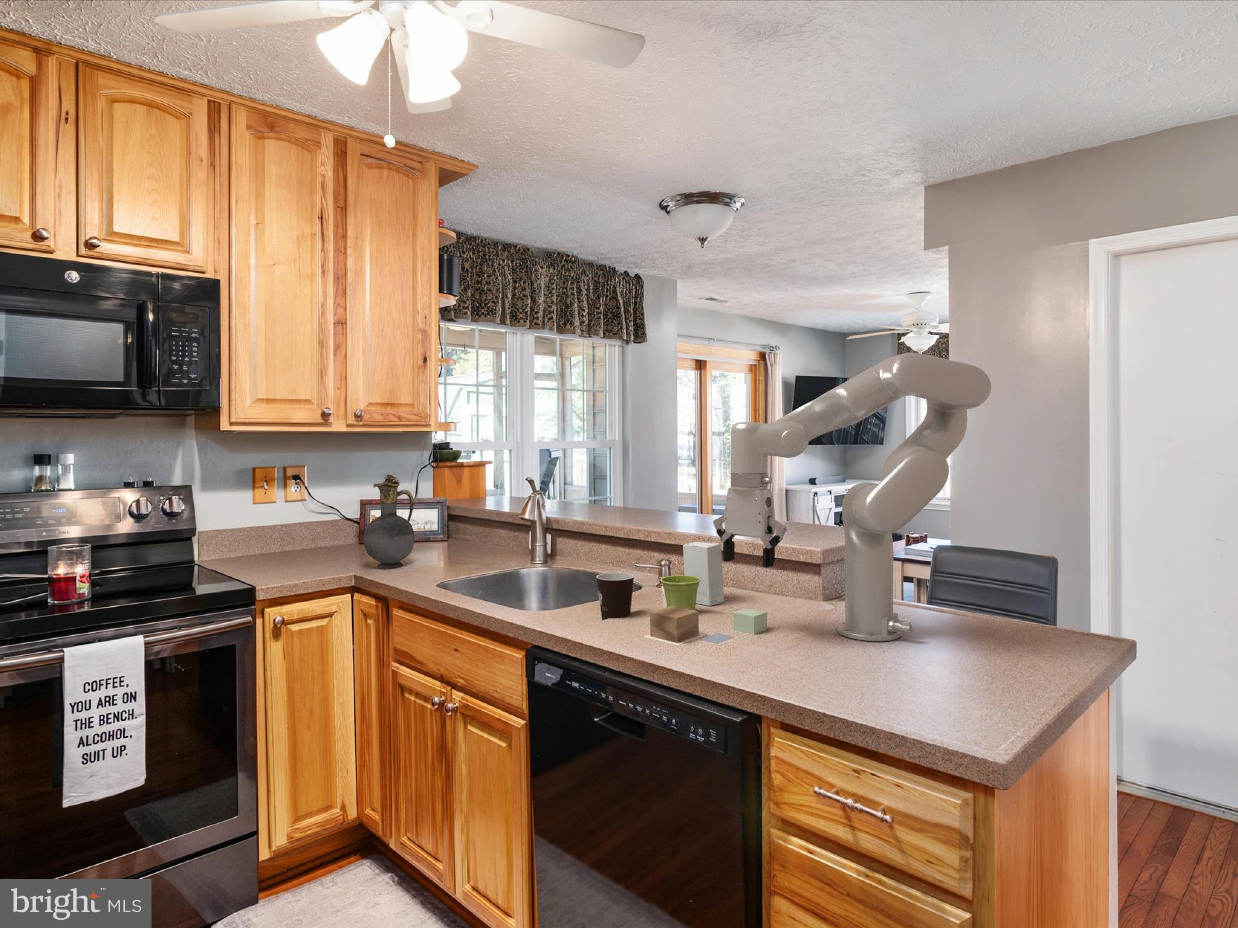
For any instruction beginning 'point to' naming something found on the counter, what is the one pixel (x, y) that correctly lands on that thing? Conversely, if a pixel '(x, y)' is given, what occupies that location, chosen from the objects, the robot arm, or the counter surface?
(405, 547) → the pitcher
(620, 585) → the coffee mug
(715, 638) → the blueprint board
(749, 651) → the counter surface
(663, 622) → the walnut block
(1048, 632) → the counter surface
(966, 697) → the counter surface
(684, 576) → the plant pot
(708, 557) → the skincare box
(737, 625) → the sage cube
